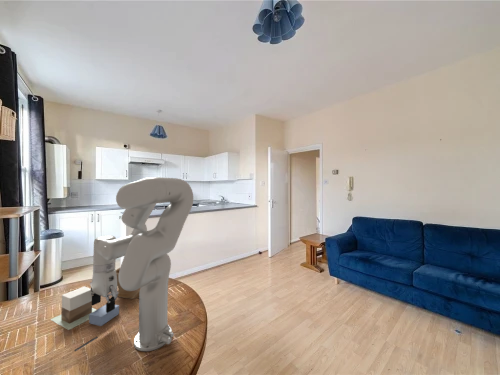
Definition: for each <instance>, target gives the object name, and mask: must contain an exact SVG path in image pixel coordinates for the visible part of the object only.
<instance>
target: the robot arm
mask: <svg viewBox="0 0 500 375" xmlns="http://www.w3.org/2000/svg"><path fill="white" fill-rule="evenodd" d="M115 200H116V201H115V202H116V204H117V206H118V207H119V208H120V209H123V210H124V211H123V213H122V214H121V221H122V223H123V224H124V226H127V227H128V228H130V229H132V231H131V233H130V234H129V235H126V236H121V237H117V238H116V236H114V235H101V236H97V237H95V239H94V241H93V256H92V257H93V258H92V259H93V261H92V262H93V264H92V277H91V278H92V279H91V282H90V283H89V285H90V289H91V291H92V293H91V295H92V306H95V305H97V304H99V303H101V302H102V301H101V300H102V297H103V298H105V300H106V303H105V305H106V312H107V313H108V312H110V311H112V310H114V309H115V305H116V300H117V298H118V286H117V274H116V270H117V269H116V260H117V259H120V258H122V257H123V259H122V262H121V264H120V267H119V268H120V270H119V283H120V286H121V287H122V288H123V289H124V290H126V291H134V290H137V289H139V288H140V293H139V298H138V333H137V334H136V335H135V337H134V338H133V347H134V348H135V349H136V350H137V351H140V352H150V351H154V350H158V349H160V348H161V347H163V346H164V345H170V344H171V342H172V341H173V340H172V338H173V337H174V336H175V333H174V332H173V330H172V328H171V326H170V325H169V324H168V313H169V312H168V308H169V307H168V302H169V300H168V297H169V296H168V295H169V291H168V290H169V279H170V274H171V267H172V262H171V258H170V256H169V254H168V253H171V252H172V251H173V250H174V248H175V247H176V245H177V243H178V240H179V238H180V235H181V233H182V230H183V228H184V225H185V223H186V221H187V219H188V216H189V214H190V212H191V210H192V207H193V204H194V192H193V189H192V187H191V185H190V184H189V183H188V182H187V181H186V180H184V179H181V178H177V177H161V176H160V177H158V176H156V177H155V176H153V177H151V176H150V177H145V178H141V179H139V180H136V181H133V182H129V183H126V184H124V185H122V186H120V188H119V190H118V191H117V192H116V195H115ZM164 203H169V204H168V206H166V208H164V210H163V211H162V213H161V215H160V216H159V219H158V222H157V224H156V225H155V227H154V228H152V229H150V230H148V228H147V224H146V223H147V221H148V219H149V217H150V216H151V214H152V212H153V211H154V209H155V207H156V205H157V204H164Z"/></svg>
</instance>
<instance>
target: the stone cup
mask: <svg viewBox="0 0 500 375" xmlns="http://www.w3.org/2000/svg"><path fill="white" fill-rule="evenodd" d="M115 270H116V274H117V291H118V296H117V298H123V299H128V300H129V299H131V300H134V299H136V298H137V299H139V293H140V288H139V289H137V290H134V291H126V290H124V289H123V288H122V287H121V286H120V283H119V270H120V267H119V268H117V269H115Z"/></svg>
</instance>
